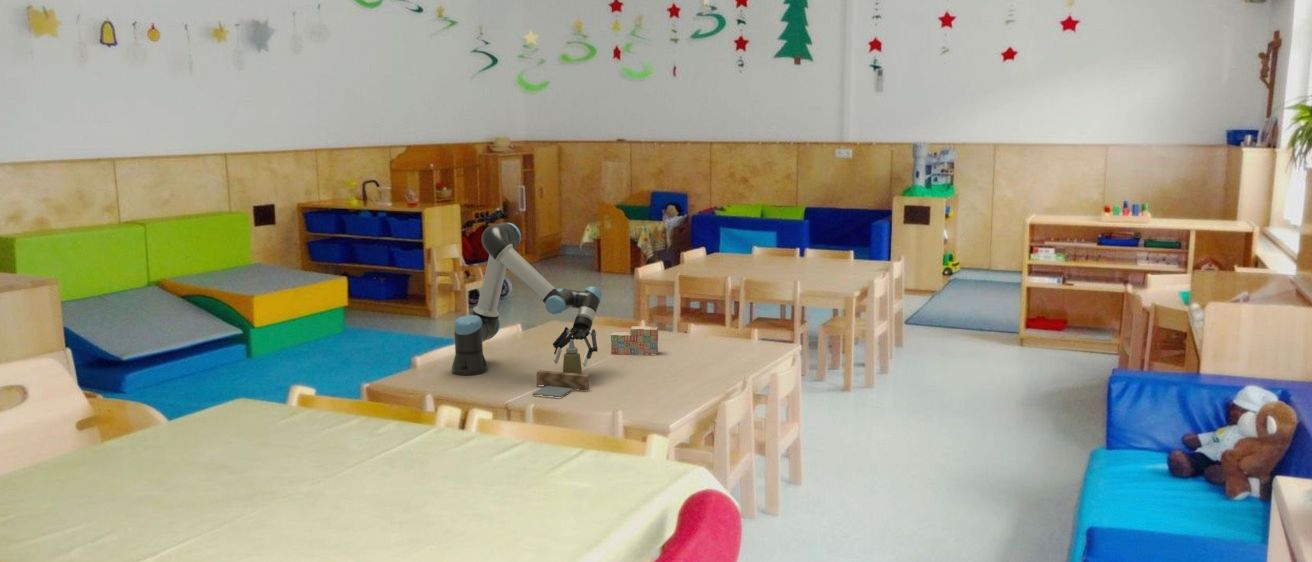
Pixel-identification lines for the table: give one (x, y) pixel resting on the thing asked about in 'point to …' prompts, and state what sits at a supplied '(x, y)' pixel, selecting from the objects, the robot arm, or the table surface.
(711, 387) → the table surface
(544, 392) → the grey rubber pad
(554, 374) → the walnut rail
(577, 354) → the squeeze bottle
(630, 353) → the stack of blocks
